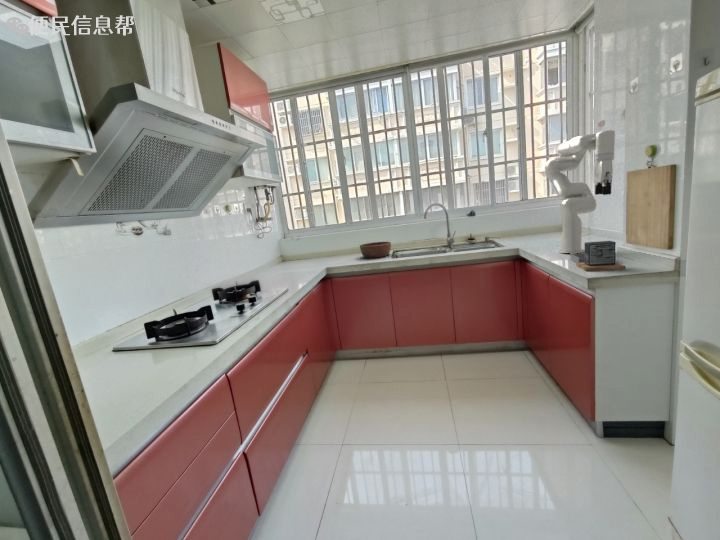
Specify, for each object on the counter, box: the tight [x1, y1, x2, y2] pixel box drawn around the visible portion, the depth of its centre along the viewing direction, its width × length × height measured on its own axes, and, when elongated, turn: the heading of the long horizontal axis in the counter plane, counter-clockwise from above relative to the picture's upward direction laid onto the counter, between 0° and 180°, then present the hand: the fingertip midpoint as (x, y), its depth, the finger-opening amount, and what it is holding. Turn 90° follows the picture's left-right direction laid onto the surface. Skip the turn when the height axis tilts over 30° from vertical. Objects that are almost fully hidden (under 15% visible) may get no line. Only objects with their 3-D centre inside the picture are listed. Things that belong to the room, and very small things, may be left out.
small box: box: [584, 240, 617, 266], centre depth 152 cm, size 11×6×10 cm, turn 74°
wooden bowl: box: [359, 241, 392, 259], centre depth 264 cm, size 25×25×10 cm
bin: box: [570, 253, 617, 264], centre depth 166 cm, size 13×16×3 cm
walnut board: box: [576, 261, 627, 272], centre depth 153 cm, size 13×15×2 cm
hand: (602, 194), depth 161 cm, fingers open, 9 cm apart
